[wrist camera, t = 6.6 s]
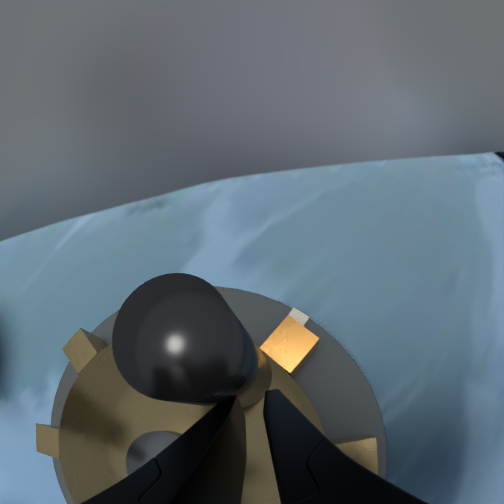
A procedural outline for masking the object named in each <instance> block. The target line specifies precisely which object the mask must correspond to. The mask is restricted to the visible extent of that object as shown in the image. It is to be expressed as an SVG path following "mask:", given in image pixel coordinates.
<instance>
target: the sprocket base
mask: <svg viewBox="0 0 504 504" xmlns="http://www.w3.org/2000/svg"><path fill="white" fill-rule="evenodd" d="M213 287H214V288H215V289H217V291H218V292H219V293H220V294H221V295H222V297H223V298H224V299H225V301H226V302H227V304H228V305H229V307H230V308H231V309H232V311H233V312H234V314H235V315H236V316H237V318H238V319H239V321H240V322H241V323H242V325H243V326H244V327H245V329H246V330H247V332H248V333H249V334H250V336H251V337H252V338H253V340H254V341H255V343H256V344H257V345H258V347H259V348H260V347H261V345H262V344H263V343H264V342H265V341H266V340H267V339H268V338H269V336H270V335H271V334H272V333H273V332H274V331H275V330H276V328H277V327H278V326H279V325H280V324H281V323H282V322H283V320H284V319H285V318H286V317H287V316H288V315H289V316H291V317H292V318H293V319H295V320H296V321H297V322H299V323H300V324H301V325H303V326H304V327H305V328H307V329H308V330H309V331H310V332H312V333H313V334H314V335H316V336H317V337H318V338H320V339H319V345H318V348H317V349H316V351H315V352H314V353H313V354H312V355H311V357H310V358H309V359H308V360H307V361H306V363H305V364H304V365H303V366H302V367H301V368H300V370H299V371H298V372H297V373H296V374H295V375H294V377H293V379H294V380H295V381H296V382H297V383H298V385H299V386H300V388H301V389H302V390H303V392H304V393H305V395H306V396H307V397H308V399H309V400H310V402H311V404H312V406H313V408H314V409H315V411H316V413H317V415H318V417H319V419H320V422H321V425H322V427H323V430H324V433H325V436H326V437H327V438H328V439H329V440H337V439H344V438H350V437H356V436H361V435H367V434H368V435H371V436H374V437H376V444H377V460H378V476H380V477H382V478H383V479H385V477H386V466H387V446H386V436H385V428H384V424H383V421H382V417H381V413H380V410H379V406H378V404H377V401H376V399H375V397H374V394H373V392H372V390H371V388H370V385H369V383H368V382H367V380H366V378H365V377H364V375H363V374H362V372H361V371H360V369H359V367H358V366H357V364H356V363H355V361H354V360H353V359H352V358H351V357H350V355H349V354H348V353H347V352H346V351H345V350H344V348H343V347H342V346H341V345H340V344H339V343H338V342H337V341H336V340H335V339H334V338H333V337H332V336H331V335H329V334H328V333H327V332H326V331H325V330H324V329H323V328H322V327H320V326H319V325H317V324H316V323H315V322H313V321H312V320H310V319H309V317H308V316H307V315H305V314H303V313H302V312H300V311H299V310H297V309H295V308H294V307H293V309H292V308H290V307H288V306H286V305H284V304H283V303H281V302H278V301H275V300H273V299H270V298H267V297H265V296H262V295H259V294H256V293H251V292H247V291H243V290H239V289H233V288H224V287H216V286H213ZM118 312H119V310H118V311H117V312H116V313H114V314H113V315H111V316H110V317H109V318H107V319H106V320H105V321H103V322H102V323H101V324H100V325H99V326H98V327H97V328H96V329H95V330H94V331H92V332H91V333H92V334H94V335H96V336H98V337H100V339H101V340H102V341H103V343H104V344H105V346H106V347H107V346H108V345H110V344H112V333H113V327H114V323H115V320H116V317H117V315H118ZM78 375H79V374H78V373H77V372H76V370H75V369H74V367H73V366H72V364H71V362H69V363H68V365H67V367H66V369H65V371H64V374H63V376H62V378H61V380H60V383H59V386H58V389H57V392H56V395H55V400H54V405H53V410H52V417H51V425H53V426H60V420H61V416H62V411H63V407H64V404H65V401H66V399H67V396H68V393H69V391H70V389H71V387H72V385H73V384H74V382H75V380H76V378H77V377H78ZM53 463H54V468H55V472H56V475H57V479H58V482H59V485H60V488H61V490H62V493H63V495H64V497H65V500H66V502H67V504H75V503H74V501H73V499H72V497H71V495H70V492H69V490H68V487H67V485H66V482H65V479H64V475H63V471H62V467H61V461H60V459H57V458H54V457H53Z"/></svg>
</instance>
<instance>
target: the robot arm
mask: <svg viewBox="0 0 504 504" xmlns="http://www.w3.org/2000/svg"><path fill="white" fill-rule="evenodd" d="M263 418H264V423H265V428H266V433H267V438H268V443H269V448H270V453H271V458H272V463H273V468H274V473H275V478H276V482H277V487H278V492H279V497H280V501H281V504H428V503H426V502H424V501H423V500H421V499H419V498H417V497H415V496H413V495H411V494H410V493H408V492H406V491H404V490H402V489H401V488H399V487H397V486H395V485H394V484H392V483H390V482H389V481H387V480H385V479H383V478H382V477H380V476H378V475H377V474H375V473H373V472H372V471H370V470H369V469H367V468H365V467H364V466H362V465H361V464H359V463H358V462H356V461H355V460H353V459H352V458H350V457H349V456H348V455H346V454H345V453H344V452H343V451H341V450H340V449H339V448H338V447H337V446H336V445H335V444H333V443H332V442H331V441H330V440H329V439H328V438H327V437H326V436H325V435H324V434H323V433H322V432H321V431H320V430H319V429H318V428H317V427H316V426H315V425H314V424H313V423H312V422H311V421H310V420H309V419H308V418H307V417H306V416H305V415H304V414H303V413H302V412H301V411H300V410H299V409H298V408H297V407H296V406H295V405H294V404H293V403H292V402H291V401H290V400H289V399H288V398H287V397H286V396H285V395H284V394H283V393H282V392H281V391H280V390H279V389H272V390H267V391H266V392H265V398H264V406H263ZM246 460H247V444H246V419H245V414H244V411H243V409H242V406H241V403H240V401H239V398H238V397H237V396H234V397H232V398H230V399H227V400H225V401H222V402H219V403H217V404H216V405H215V406H214V407H213V408H212V409H211V410H210V411H208V412H207V413H206V414H205V415H204V416H203V417H202V418H200V419H199V420H198V421H197V422H196V423H195V424H193V425H192V426H191V427H190V428H189V429H188V430H186V431H185V432H184V433H183V434H182V435H180V436H179V437H178V438H177V439H176V440H174V441H173V442H172V443H171V444H170V445H168V446H167V447H166V448H165V449H163V450H162V451H161V452H160V453H159V454H157V455H156V456H155V458H154V457H153V458H152V459H150V460H149V461H148V462H146V463H145V464H144V465H142V466H141V467H140V468H138V469H137V470H136V471H134V472H133V473H131V474H130V475H128V476H127V477H125V478H124V479H122V480H120V481H119V482H117V483H116V484H114V485H112V486H111V487H109V488H107V489H105V490H104V491H102V492H100V493H98V494H97V495H95V496H93V497H91V498H89V499H88V500H86V501H84V502H82V503H80V504H241V499H242V491H243V484H244V476H245V468H246Z"/></svg>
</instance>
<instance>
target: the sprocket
mask: <svg viewBox="0 0 504 504" xmlns="http://www.w3.org/2000/svg"><path fill="white" fill-rule="evenodd" d="M319 339H320V338H318V337H317V336H316V335H314V334H313V333H312V332H310V331H309V330H308V329H307V328H305V327H304V326H303V325H301V324H300V323H299V322H297V321H296V320H295V319H293V318H292V317H291V316H289V315H288V316H287V317H286V318H285V319H284V320H283V322H282V323H281V324H280V325H279V326H278V327H277V328H276V330H275V331H274V332H273V333H272V334H271V335H270V336H269V338H268V339H267V340H266V341H265V342H264V343H263V344H262V345H261V347H260V348H259V347H258V345H257V344H256V343H255V341H254V340H253V338H252V337H251V336H250V334H249V333H248V332H247V330H246V329H245V327H244V326H243V325H242V323H241V322H240V321H239V319H238V318H237V316H236V315H235V314H234V312H233V311H232V309H231V308H230V307H229V305H228V304H227V302H226V301H225V299H224V298H223V297H222V295H221V294H220V293H219V292H218V291H217V289H215V288H214V287H213V286H212V285H211V284H210V283H208V282H206V281H205V280H203V279H201V278H199V277H196V276H193V275H190V274H183V273H172V274H165V275H161V276H158V277H155V278H153V279H151V280H149V281H147V282H145V283H144V284H142V285H141V286H139V287H138V288H137V289H136V290H134V291H133V292H132V293H131V295H130V296H129V297H128V298H127V299H126V301H125V302H124V303H123V305H122V307H121V308H120V310H119V312H118V315H117V317H116V320H115V323H114V327H113V333H112V344H110V345H108V346H107V347H106V346H105V344H104V343H103V341H102V340H101V339H100V337H98V336H96V335H94V334H92V333H90V332H88V331H86V330H84V329H82V328H80V329H79V330H78V331H77V332H76V334H75V335H74V336H73V337H72V338H71V339H70V341H69V342H68V343H67V344H66V345H65V346H64V348H63V351H64V352H65V354H66V356H67V357H68V359H69V361H70V362H71V364H72V366H73V367H74V369H75V370H76V372H77V373H78V374H79V375H78V377H77V378H76V380H75V382H74V384H73V385H72V387H71V389H70V391H69V393H68V396H67V399H66V401H65V404H64V407H63V411H62V416H61V420H60V426H53V425H45V424H37V423H36V446H37V452H40V453H43V454H46V455H49V456H51V457H54V458H57V459H60V461H61V467H62V471H63V475H64V479H65V482H66V485H67V487H68V490H69V492H70V495H71V497H72V499H73V501H74V503H75V504H80V503H82V502H84V501H86V500H88V499H89V498H91V497H93V496H95V495H97V494H98V493H100V492H102V491H104V490H105V489H107V488H109V487H111V486H112V485H114V484H116V483H117V482H119V481H120V480H122V479H124V478H125V477H127V476H128V475H130V474H131V473H133V472H134V471H136V470H137V469H138V468H140V467H141V466H142V465H144V464H145V463H146V462H148V461H149V460H150V459H152V458H153V457H154V458H155V456H156V455H157V454H159V453H160V452H161V451H162V450H163V449H165V448H166V447H167V446H168V445H170V444H171V443H172V442H173V441H174V440H176V439H177V438H178V437H179V436H180V435H182V434H183V433H184V432H185V431H186V430H188V429H189V428H190V427H191V426H192V425H193V424H195V423H196V422H197V421H198V420H199V419H200V418H202V417H203V416H204V415H205V414H206V413H207V412H208V411H210V410H211V409H212V408H213V407H214V406H215V405H216V404H217V403H219V402H222V401H225V400H227V399H230V398H232V397H234V396H237V397H238V398H239V401H240V403H241V406H242V409H243V411H244V414H245V419H246V444H247V460H246V468H245V476H244V484H243V491H242V499H241V504H281V501H280V497H279V492H278V487H277V482H276V478H275V473H274V468H273V463H272V458H271V453H270V448H269V443H268V438H267V433H266V428H265V423H264V418H263V406H264V398H265V392H266V391H267V390H272V389H279V390H280V391H281V392H282V393H283V394H284V395H285V396H286V397H287V398H288V399H289V400H290V401H291V402H292V403H293V404H294V405H295V406H296V407H297V408H298V409H299V410H300V411H301V412H302V413H303V414H304V415H305V416H306V417H307V418H308V419H309V420H310V421H311V422H312V423H313V424H314V425H315V426H316V427H317V428H318V429H319V430H320V431H321V432H322V433H323V434H324V435H325V433H324V430H323V427H322V425H321V422H320V419H319V417H318V415H317V413H316V411H315V409H314V408H313V406H312V404H311V402H310V400H309V399H308V397H307V396H306V395H305V393H304V392H303V390H302V389H301V388H300V386H299V385H298V383H297V382H296V381H295V380H294V379H293V377H294V375H295V374H296V373H297V372H298V371H299V370H300V368H301V367H302V366H303V365H304V364H305V363H306V361H307V360H308V359H309V358H310V357H311V355H312V354H313V353H314V352H315V351H316V349H317V348H318V345H319ZM330 441H331V442H332V443H333V444H335V445H336V446H337V447H338V448H339V449H340V450H341V451H343V452H344V453H345V454H346V455H348V456H349V457H350V458H352V459H353V460H355V461H356V462H358V463H359V464H361V465H362V466H364V467H365V468H367V469H369V470H370V471H372V472H373V473H375V474H377V475H378V460H377V444H376V437H374V436H371V435H368V434H367V435H361V436H356V437H350V438H344V439H337V440H330Z"/></svg>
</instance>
